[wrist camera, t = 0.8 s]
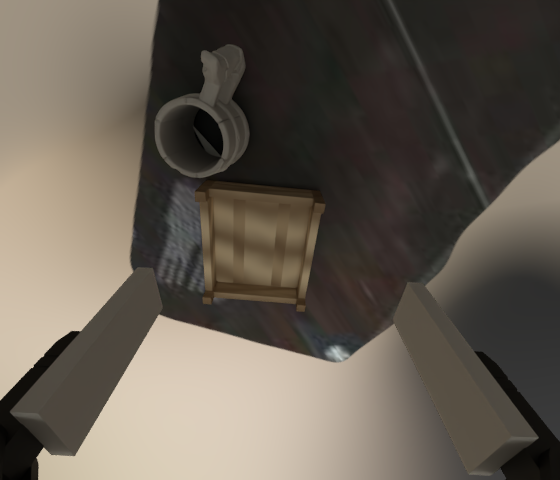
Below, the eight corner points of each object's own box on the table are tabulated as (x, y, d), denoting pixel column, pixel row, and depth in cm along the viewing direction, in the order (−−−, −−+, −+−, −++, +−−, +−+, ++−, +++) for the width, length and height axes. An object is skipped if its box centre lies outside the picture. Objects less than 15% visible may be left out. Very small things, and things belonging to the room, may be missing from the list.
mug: (178, 145, 30) (121, 166, 19) (211, 36, 25) (158, -16, 14) (235, 174, 32) (212, 208, 21) (277, 77, 26) (274, 58, 16)
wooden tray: (206, 179, 32) (194, 191, 27) (319, 190, 32) (325, 204, 28) (211, 282, 40) (203, 303, 36) (302, 289, 41) (304, 311, 36)
